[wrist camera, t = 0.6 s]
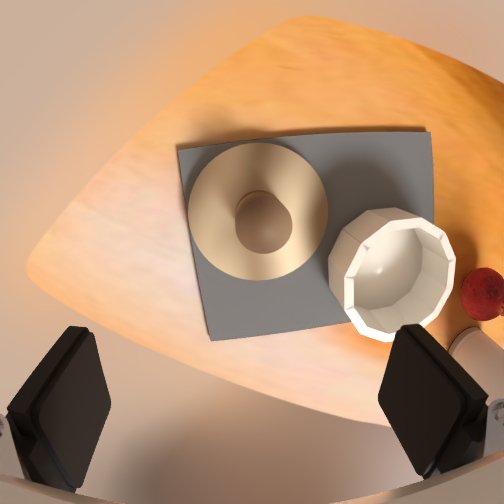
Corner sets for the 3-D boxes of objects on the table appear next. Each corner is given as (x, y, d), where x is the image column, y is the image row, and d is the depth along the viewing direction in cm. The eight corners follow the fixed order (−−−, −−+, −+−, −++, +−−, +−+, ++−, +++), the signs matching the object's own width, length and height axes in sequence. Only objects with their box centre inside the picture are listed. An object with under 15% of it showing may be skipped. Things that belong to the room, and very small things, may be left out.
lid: (318, 137, 27) (339, 133, 21) (328, 267, 30) (348, 292, 24) (180, 153, 27) (165, 152, 21) (201, 284, 30) (193, 313, 24)
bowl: (426, 203, 29) (458, 213, 24) (421, 303, 32) (447, 326, 27) (323, 213, 29) (342, 226, 23) (328, 321, 32) (343, 351, 27)
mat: (427, 132, 27) (430, 132, 27) (425, 303, 33) (428, 305, 32) (179, 150, 27) (177, 150, 26) (211, 338, 32) (210, 341, 32)
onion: (444, 273, 32) (486, 302, 24) (479, 250, 31) (523, 273, 24) (451, 312, 33) (489, 345, 26) (484, 289, 33) (524, 316, 25)
